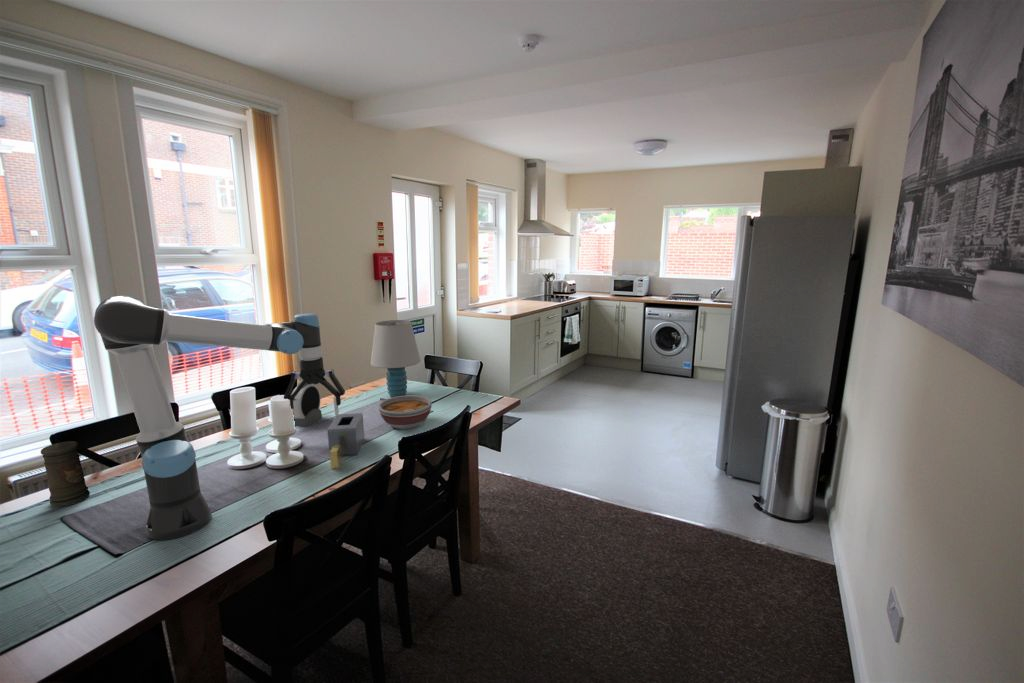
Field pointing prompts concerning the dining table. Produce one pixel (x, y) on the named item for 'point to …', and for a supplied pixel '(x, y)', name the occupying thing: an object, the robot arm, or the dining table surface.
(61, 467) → the container
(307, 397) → the alarm clock
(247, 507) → the dining table surface
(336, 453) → the block
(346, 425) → the box
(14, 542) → the dining table surface
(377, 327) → the lamp
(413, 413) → the bowl
